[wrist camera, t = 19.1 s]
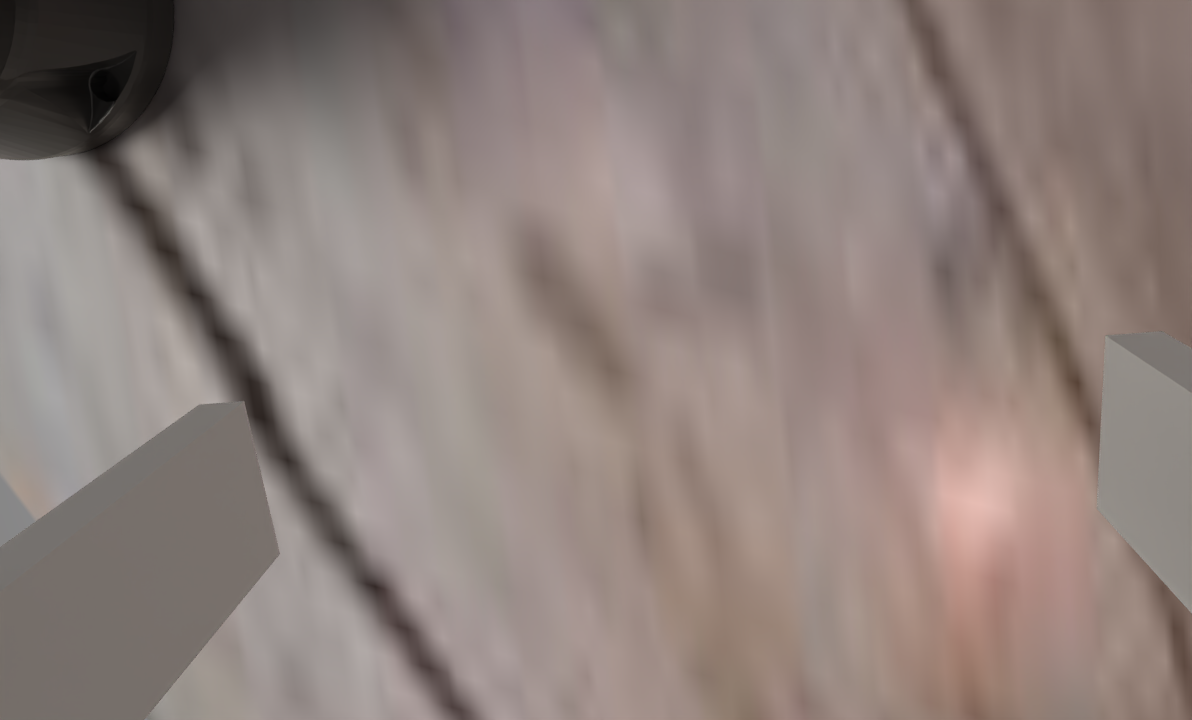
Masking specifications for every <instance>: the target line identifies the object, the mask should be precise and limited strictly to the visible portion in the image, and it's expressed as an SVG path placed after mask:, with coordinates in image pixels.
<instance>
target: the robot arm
mask: <svg viewBox="0 0 1192 720" xmlns="http://www.w3.org/2000/svg"><path fill="white" fill-rule="evenodd" d="M173 26H174V8H173V0H0V159H9V160H39V159H47V158H53V157H59V156H65V155H72V154H76V153H80V152H84V151H87V150H90V149H93V148H95V147H98V146H100V145H102V144H104V143H106V142H108V141H110V140H111V139H113V138H115V137H116V136H117V135H119V134H120V133H122V132H123V131H124V130H125V129H127V128H128V127H129V126H130V125H131V124H132V123H133V122H134V121H135V120H136V119H137V118H138V117H139V116H140V115H141V113H142V112H143V111H144V110H145V108H146V107H147V106H148V104H149V103H150V101H151V100H152V98H153V96H154V95H155V93H156V91H157V89H158V87H159V85H160V83H161V80H162V78H163V75H164V73H165V69H166V66H167V63H168V59H169V55H170V51H171V45H172V38H173ZM1097 509H1098V510H1099V512H1100V513H1101V514H1102V515H1103V516H1104V517H1105V518H1106V519H1107V520H1108V521H1109V523H1110V524H1111V525H1112V526H1113V527H1114V528H1115V529H1116V530H1117V531H1118V532H1119V534H1120V535H1121V536H1122V537H1123V538H1124V539H1125V540H1126V541H1127V542H1128V544H1129V545H1130V546H1131V547H1132V548H1133V549H1134V550H1135V551H1136V552H1137V553H1138V555H1139V556H1140V557H1141V558H1142V559H1143V560H1144V561H1145V562H1146V563H1147V564H1148V566H1149V567H1150V568H1151V569H1152V570H1153V571H1154V572H1155V573H1156V574H1157V576H1158V577H1159V578H1160V579H1161V580H1162V581H1163V582H1164V583H1165V584H1166V585H1167V587H1168V588H1169V589H1170V590H1171V591H1172V592H1173V593H1174V594H1175V595H1176V597H1177V598H1178V599H1179V600H1180V601H1181V602H1182V603H1183V604H1184V605H1185V606H1186V608H1187V609H1188V610H1189V611H1190V612H1191V613H1192V348H1190V347H1188V346H1187V345H1185V344H1183V343H1181V342H1180V341H1178V340H1176V339H1175V338H1173V337H1171V336H1169V335H1168V334H1166V333H1164V332H1162V331H1159V332H1146V333H1132V334H1119V335H1106V337H1105V357H1104V376H1103V396H1102V415H1101V435H1100V455H1099V474H1098V494H1097ZM279 554H280V552H279V548H278V544H277V540H276V535H275V531H274V527H273V523H272V518H271V514H270V510H269V506H268V501H267V497H266V493H265V488H264V484H263V480H262V476H261V471H260V467H259V463H258V459H257V454H256V450H255V446H254V442H253V437H252V433H251V429H250V425H249V420H248V416H247V412H246V407H245V403H244V401H242V402H229V403H216V404H203V405H198V406H197V407H195V408H194V409H193V410H191V411H190V412H188V413H187V414H186V415H184V416H183V417H181V418H180V419H179V420H177V421H176V422H174V423H173V424H172V425H170V426H169V427H167V428H166V429H165V430H163V431H162V432H160V433H159V434H158V435H156V436H155V437H153V438H152V439H151V440H149V441H148V442H146V443H145V444H144V445H142V446H141V447H139V448H138V449H137V450H135V451H134V452H133V453H131V454H130V455H128V456H127V457H126V458H124V459H123V460H121V461H120V462H119V463H117V464H116V465H114V466H113V467H112V468H110V469H109V470H107V471H106V472H105V473H103V474H102V475H100V476H99V477H98V478H96V479H95V480H93V481H92V482H91V483H89V484H88V485H86V486H85V487H84V488H82V489H81V490H79V491H78V492H77V493H75V494H74V495H72V496H71V497H70V498H68V499H67V500H65V501H64V502H63V503H61V504H60V505H58V506H57V507H56V508H54V509H53V510H51V511H50V512H49V513H47V514H46V515H44V516H43V517H42V518H40V519H39V520H37V521H36V522H35V523H33V524H32V525H30V526H29V527H28V528H26V529H25V530H23V531H22V532H21V533H20V534H18V535H16V536H15V537H14V538H12V539H11V540H9V541H8V542H7V543H5V544H4V545H2V546H1V547H0V720H144V719H145V718H146V717H147V716H148V714H149V713H150V712H151V711H152V710H153V708H154V707H155V706H156V705H157V703H158V702H159V701H160V700H161V699H162V697H163V696H164V695H165V694H166V692H167V691H168V690H169V689H170V688H171V686H172V685H173V684H174V683H175V681H176V680H177V679H178V678H179V677H180V675H181V674H182V673H183V672H184V670H185V669H186V668H187V667H188V666H189V664H190V663H191V662H192V661H193V659H194V658H195V657H196V656H197V655H198V653H199V652H200V651H201V650H202V648H203V647H204V646H205V645H206V644H207V642H208V641H209V640H210V639H211V637H212V636H213V635H214V634H215V633H216V631H217V630H218V629H219V628H220V626H221V625H222V624H223V623H224V622H225V620H226V619H227V618H228V617H229V615H230V614H231V613H232V612H233V611H234V609H235V608H236V607H237V606H238V604H239V603H240V602H241V601H242V600H243V598H244V597H245V596H246V595H247V593H248V592H249V591H250V590H251V589H252V587H253V586H254V585H255V584H256V582H257V581H258V580H259V579H260V578H261V576H262V575H263V574H264V573H265V571H266V570H267V569H268V568H269V567H270V565H271V564H272V563H273V562H274V560H275V559H276V558H277V557H278V556H279Z"/></svg>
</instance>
